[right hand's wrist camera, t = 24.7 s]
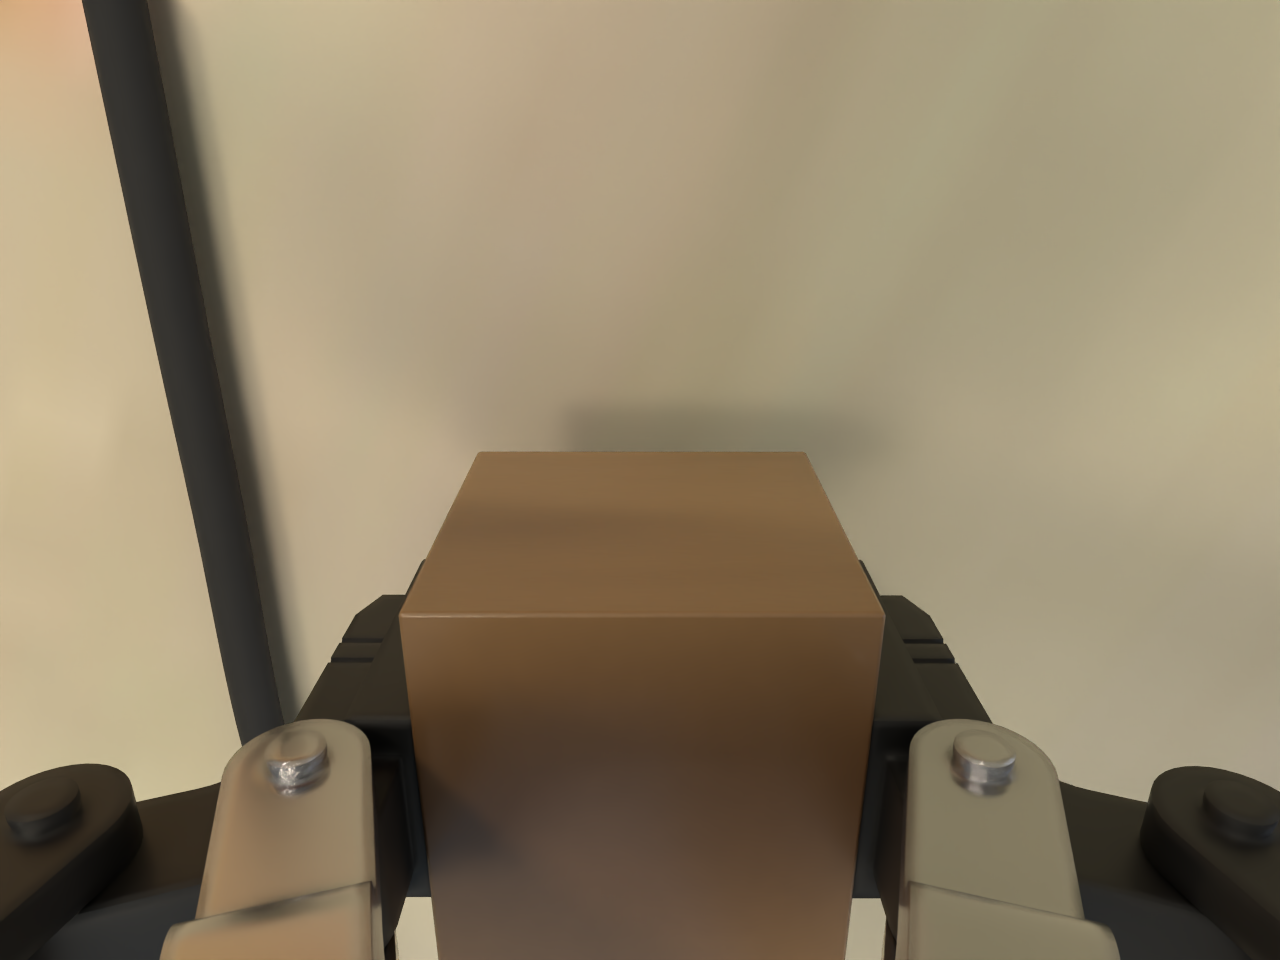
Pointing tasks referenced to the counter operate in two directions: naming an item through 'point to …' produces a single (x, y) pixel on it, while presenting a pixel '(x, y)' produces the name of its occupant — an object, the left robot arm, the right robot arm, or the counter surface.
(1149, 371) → the counter surface
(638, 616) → the brown wooden cube
